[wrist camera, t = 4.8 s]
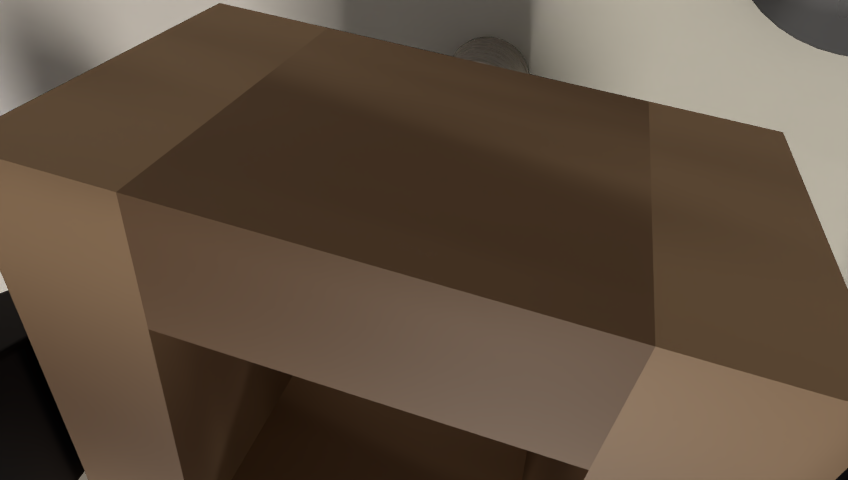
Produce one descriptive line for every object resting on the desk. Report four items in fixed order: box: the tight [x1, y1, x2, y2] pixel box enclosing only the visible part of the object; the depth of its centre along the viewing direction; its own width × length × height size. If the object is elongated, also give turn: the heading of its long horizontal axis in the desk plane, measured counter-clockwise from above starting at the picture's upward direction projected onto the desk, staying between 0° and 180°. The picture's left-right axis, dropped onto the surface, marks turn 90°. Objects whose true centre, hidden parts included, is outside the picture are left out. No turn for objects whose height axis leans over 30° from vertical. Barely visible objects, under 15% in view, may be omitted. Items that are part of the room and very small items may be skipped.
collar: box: [0, 3, 848, 480], centre depth 8 cm, size 7×7×4 cm
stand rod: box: [453, 37, 529, 74], centre depth 16 cm, size 2×2×4 cm
